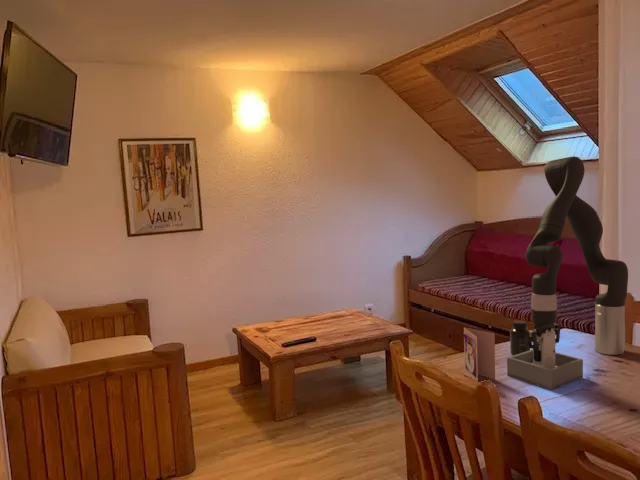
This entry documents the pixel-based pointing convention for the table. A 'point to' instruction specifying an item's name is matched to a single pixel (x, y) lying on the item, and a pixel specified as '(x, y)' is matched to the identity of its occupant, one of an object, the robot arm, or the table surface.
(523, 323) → the supplement bottle
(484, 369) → the greeting card
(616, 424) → the table surface
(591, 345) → the table surface
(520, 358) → the crate
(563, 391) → the table surface
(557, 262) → the robot arm
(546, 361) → the skincare box
